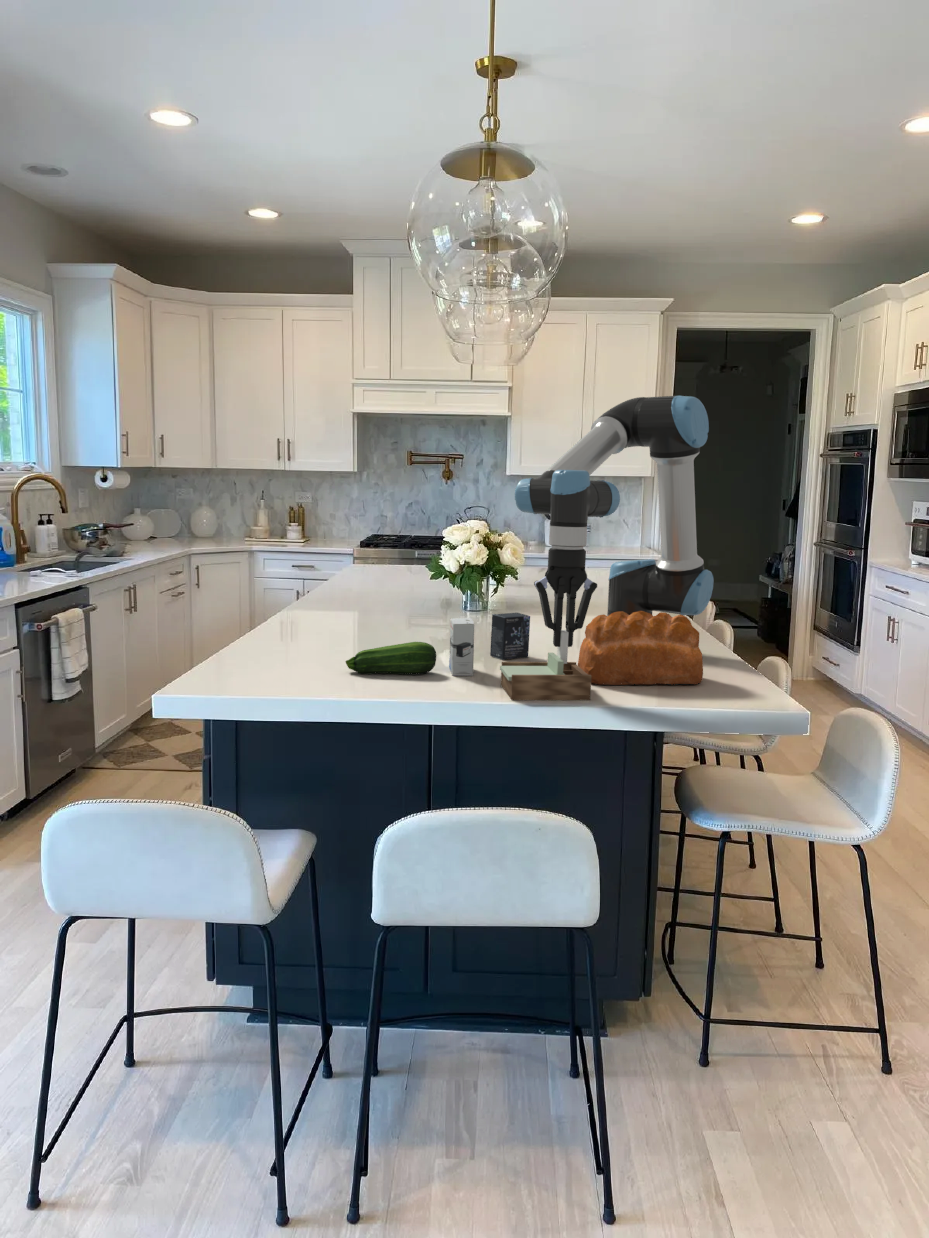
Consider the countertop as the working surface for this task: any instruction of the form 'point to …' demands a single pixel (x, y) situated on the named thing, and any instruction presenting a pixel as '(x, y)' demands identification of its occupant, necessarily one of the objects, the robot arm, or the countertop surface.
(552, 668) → the lid
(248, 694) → the countertop surface
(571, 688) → the pencil box
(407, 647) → the vegetable
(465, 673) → the ink box
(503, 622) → the box
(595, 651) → the bread
